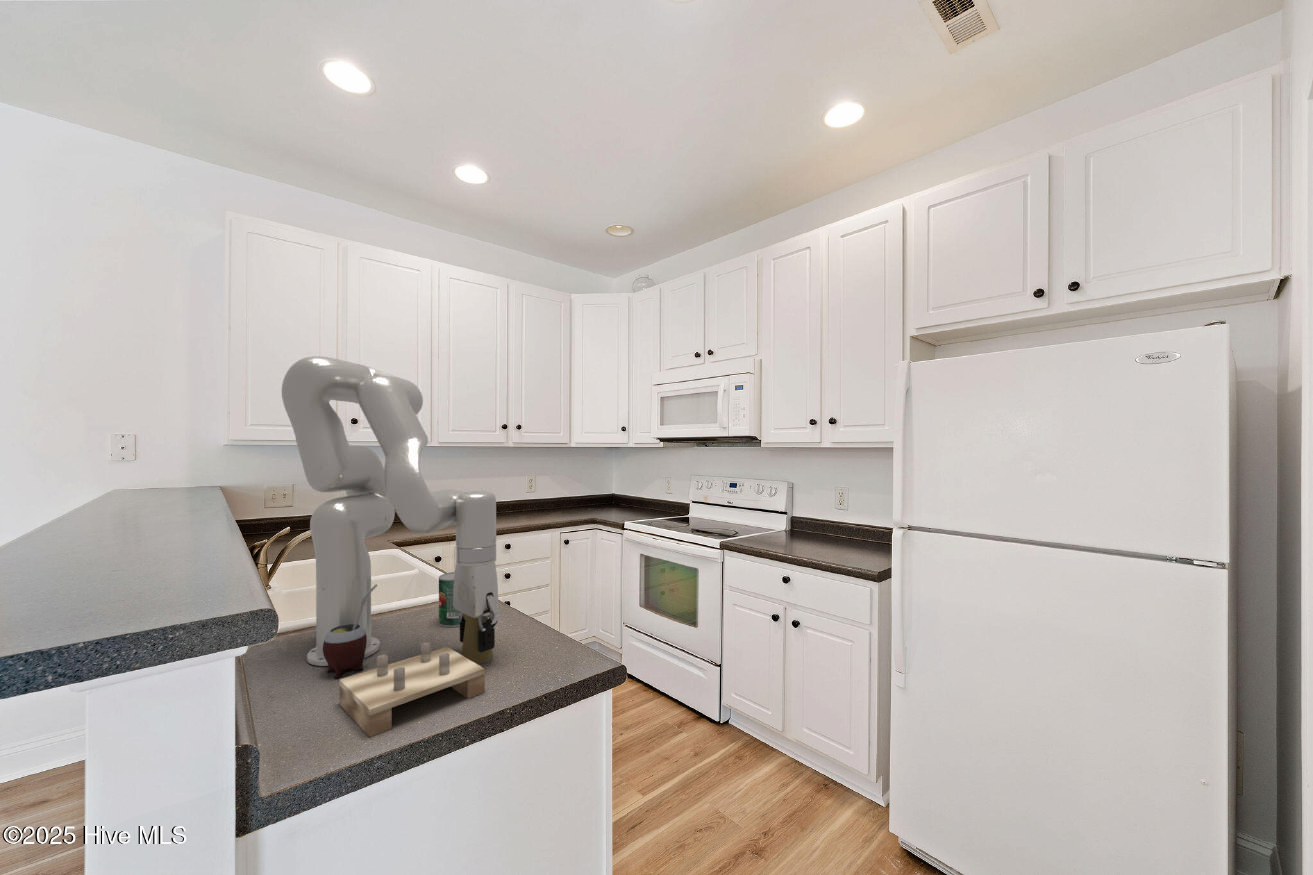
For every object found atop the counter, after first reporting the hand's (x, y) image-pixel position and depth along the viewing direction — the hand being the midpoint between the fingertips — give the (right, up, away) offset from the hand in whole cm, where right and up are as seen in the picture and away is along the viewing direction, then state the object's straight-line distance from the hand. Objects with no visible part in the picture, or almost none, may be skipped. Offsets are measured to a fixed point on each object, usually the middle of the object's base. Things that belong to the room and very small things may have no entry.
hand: (476, 644), depth 102 cm
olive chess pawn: (0, -3, 0) cm, 3 cm away
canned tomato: (-12, -3, +21) cm, 24 cm away
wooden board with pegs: (-5, -3, -16) cm, 17 cm away
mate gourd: (-22, -3, -5) cm, 23 cm away
